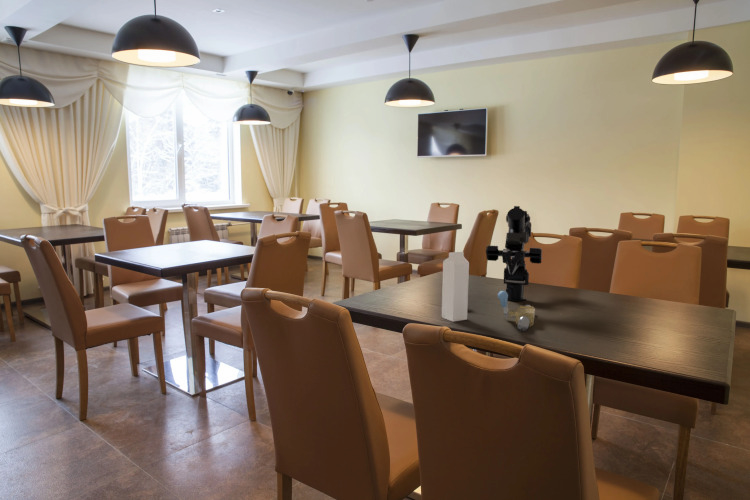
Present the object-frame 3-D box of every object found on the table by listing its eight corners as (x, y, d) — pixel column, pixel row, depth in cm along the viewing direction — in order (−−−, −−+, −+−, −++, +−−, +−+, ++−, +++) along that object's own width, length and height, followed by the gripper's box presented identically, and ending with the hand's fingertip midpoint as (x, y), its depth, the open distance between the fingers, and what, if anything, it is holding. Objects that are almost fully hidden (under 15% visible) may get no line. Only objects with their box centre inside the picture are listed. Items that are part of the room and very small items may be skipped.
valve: (512, 312, 172) (512, 300, 172) (535, 314, 170) (536, 302, 169) (505, 329, 152) (505, 315, 151) (531, 332, 149) (532, 318, 149)
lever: (502, 309, 164) (497, 288, 149) (511, 309, 163) (508, 289, 148) (501, 317, 163) (496, 298, 148) (510, 318, 162) (507, 299, 147)
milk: (467, 319, 163) (470, 252, 160) (452, 322, 160) (455, 253, 157) (455, 315, 168) (458, 250, 165) (440, 317, 165) (443, 251, 162)
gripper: (487, 222, 176) (481, 257, 168) (543, 224, 170) (540, 261, 161) (489, 242, 185) (484, 276, 176) (542, 245, 178) (539, 281, 170)
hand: (511, 273), depth 170 cm, fingers closed
